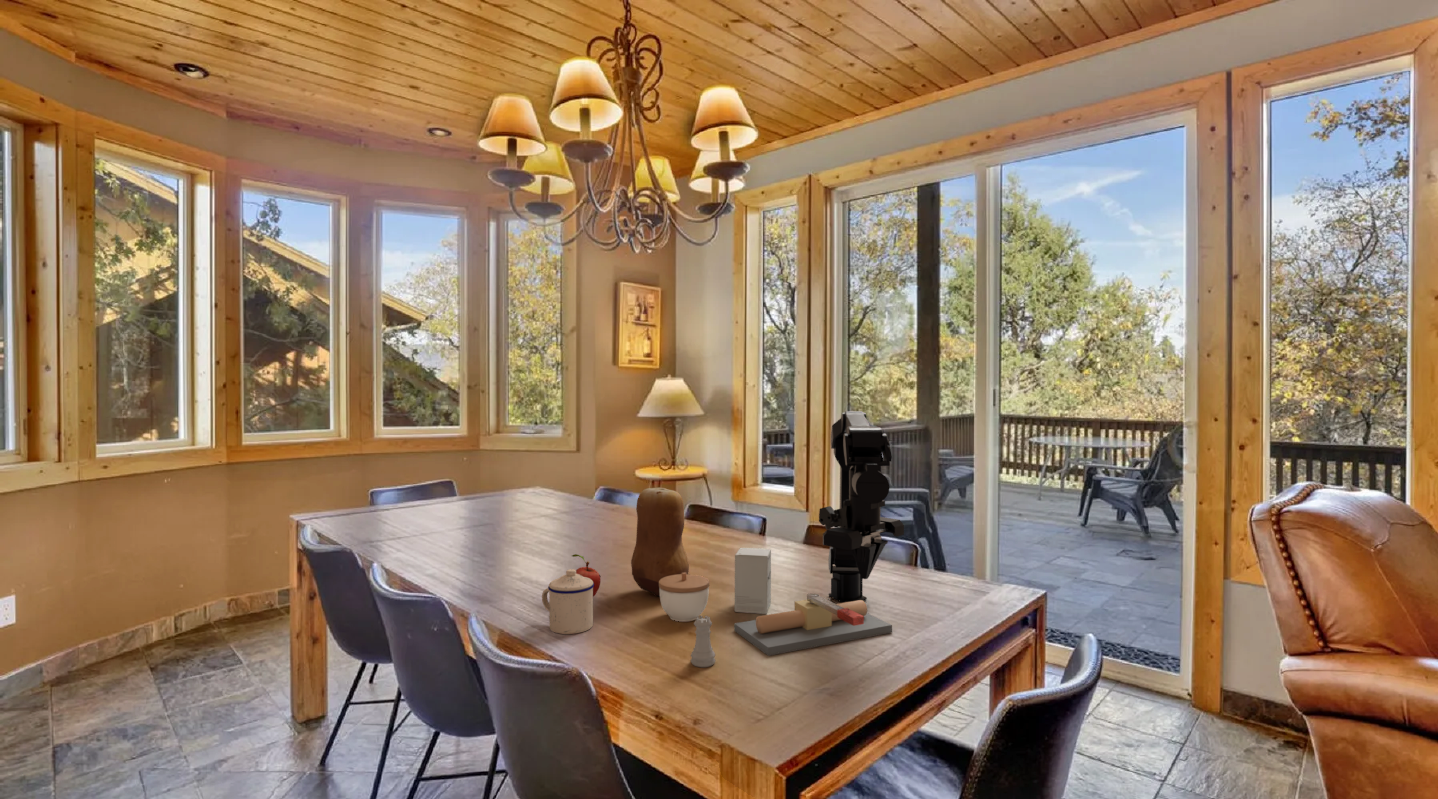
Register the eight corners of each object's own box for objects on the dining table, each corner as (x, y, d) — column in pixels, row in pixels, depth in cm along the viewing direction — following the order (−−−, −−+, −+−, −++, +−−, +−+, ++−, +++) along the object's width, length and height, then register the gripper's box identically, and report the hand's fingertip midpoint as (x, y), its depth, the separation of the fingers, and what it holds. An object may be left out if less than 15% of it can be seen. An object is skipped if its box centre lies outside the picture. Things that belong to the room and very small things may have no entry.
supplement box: (767, 614, 145) (767, 556, 145) (733, 612, 147) (733, 554, 146) (771, 604, 152) (771, 548, 152) (739, 602, 154) (739, 546, 154)
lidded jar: (683, 629, 136) (683, 583, 136) (648, 617, 143) (648, 573, 143) (719, 616, 144) (719, 572, 144) (684, 605, 151) (684, 563, 151)
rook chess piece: (689, 658, 121) (689, 614, 121) (714, 657, 122) (714, 613, 122) (690, 668, 117) (690, 622, 117) (716, 667, 117) (716, 621, 117)
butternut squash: (695, 586, 166) (694, 484, 165) (680, 603, 152) (680, 493, 152) (640, 583, 168) (640, 483, 168) (622, 600, 155) (622, 491, 155)
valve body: (850, 611, 147) (850, 583, 147) (892, 632, 134) (892, 601, 134) (734, 630, 135) (734, 599, 135) (768, 655, 123) (768, 621, 123)
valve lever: (804, 600, 135) (804, 593, 135) (814, 598, 136) (814, 591, 136) (853, 625, 121) (853, 618, 121) (864, 623, 122) (864, 616, 122)
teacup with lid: (603, 623, 140) (602, 567, 139) (574, 638, 131) (574, 578, 131) (557, 615, 145) (557, 560, 145) (527, 628, 137) (527, 571, 137)
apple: (604, 593, 160) (604, 551, 160) (596, 603, 153) (596, 559, 153) (573, 593, 161) (573, 551, 161) (563, 602, 154) (563, 558, 154)
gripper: (856, 485, 138) (856, 561, 138) (799, 495, 125) (799, 579, 125) (905, 491, 130) (905, 572, 130) (849, 502, 117) (849, 592, 117)
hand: (864, 578), depth 126 cm, fingers closed
